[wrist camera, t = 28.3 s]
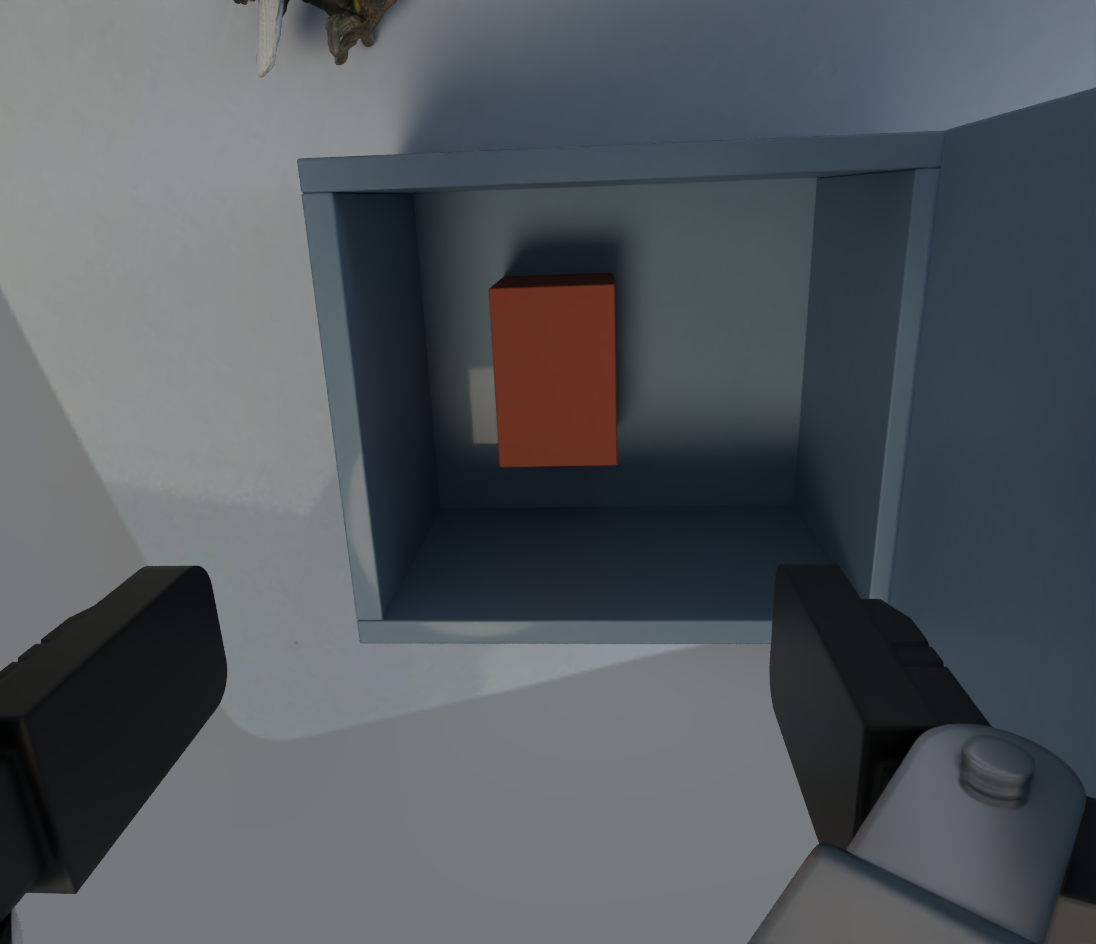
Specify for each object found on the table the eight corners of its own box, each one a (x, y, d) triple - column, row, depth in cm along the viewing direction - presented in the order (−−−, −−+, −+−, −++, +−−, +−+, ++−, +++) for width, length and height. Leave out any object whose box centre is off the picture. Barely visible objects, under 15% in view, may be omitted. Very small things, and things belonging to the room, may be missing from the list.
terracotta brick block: (614, 432, 30) (617, 465, 27) (511, 434, 31) (499, 467, 27) (613, 272, 28) (615, 283, 25) (502, 276, 29) (487, 288, 25)
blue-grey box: (426, 519, 33) (359, 644, 24) (394, 171, 29) (295, 158, 19) (808, 515, 32) (892, 644, 23) (835, 152, 27) (955, 129, 18)
